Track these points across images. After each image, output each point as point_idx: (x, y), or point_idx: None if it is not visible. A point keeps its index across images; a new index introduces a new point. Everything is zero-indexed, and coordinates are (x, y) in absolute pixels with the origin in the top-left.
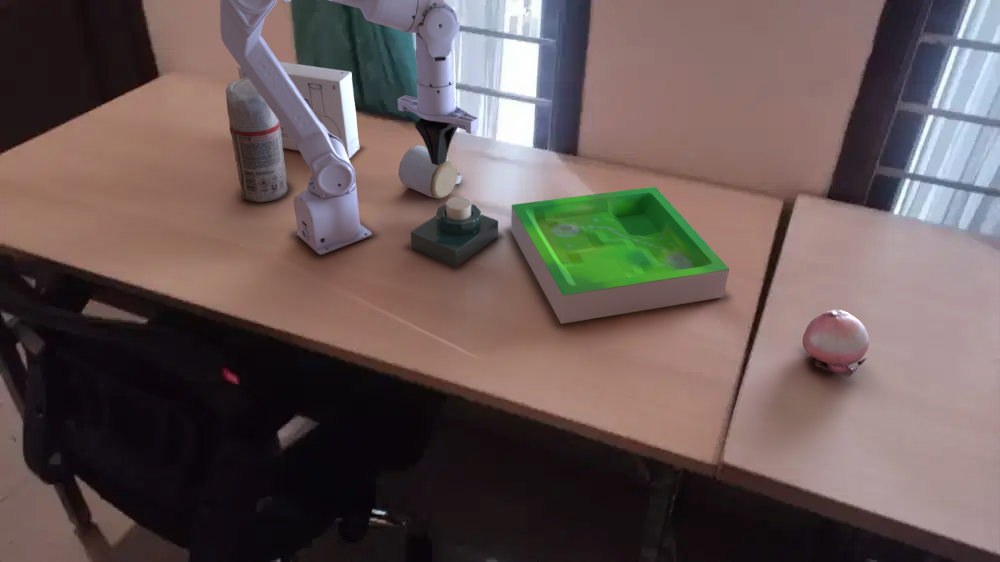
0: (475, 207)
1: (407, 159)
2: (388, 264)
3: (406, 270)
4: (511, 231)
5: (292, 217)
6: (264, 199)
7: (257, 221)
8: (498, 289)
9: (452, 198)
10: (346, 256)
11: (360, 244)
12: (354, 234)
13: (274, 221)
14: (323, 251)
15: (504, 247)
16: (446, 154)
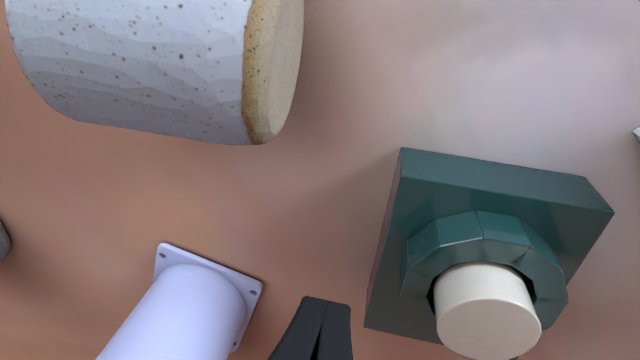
0: (531, 258)
1: (89, 118)
2: (358, 339)
3: (402, 345)
4: (635, 134)
5: (92, 273)
6: (2, 257)
7: (67, 299)
8: (637, 354)
9: (451, 316)
10: (273, 337)
11: (265, 305)
12: (243, 315)
13: (85, 291)
14: (235, 349)
15: (621, 217)
16: (349, 343)
